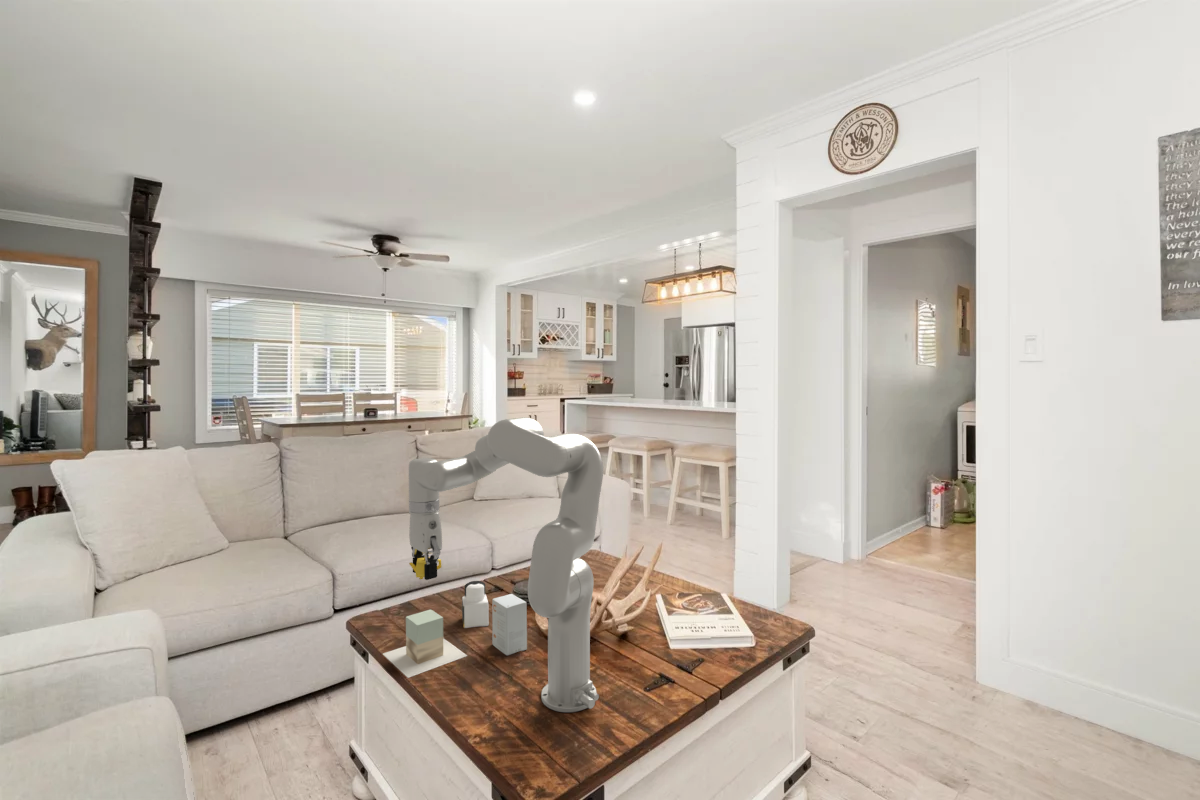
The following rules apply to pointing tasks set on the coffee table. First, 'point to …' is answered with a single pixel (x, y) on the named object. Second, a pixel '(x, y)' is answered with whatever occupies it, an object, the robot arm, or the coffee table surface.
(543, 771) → the coffee table surface
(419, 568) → the teapot
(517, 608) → the small box
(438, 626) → the tower top
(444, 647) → the felt pad
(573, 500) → the robot arm
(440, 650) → the tower bottom
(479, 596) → the medicine bottle
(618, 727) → the coffee table surface
